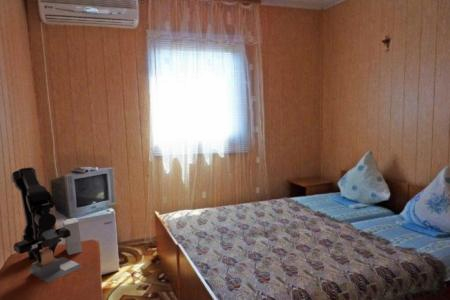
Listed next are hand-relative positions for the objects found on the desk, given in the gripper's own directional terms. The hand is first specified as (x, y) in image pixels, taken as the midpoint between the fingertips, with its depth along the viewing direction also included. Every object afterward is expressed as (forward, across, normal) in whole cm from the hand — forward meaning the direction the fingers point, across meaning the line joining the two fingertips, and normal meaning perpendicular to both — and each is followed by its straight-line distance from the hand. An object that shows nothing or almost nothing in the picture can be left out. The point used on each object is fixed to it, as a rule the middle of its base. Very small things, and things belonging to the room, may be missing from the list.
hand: (45, 260), depth 121 cm
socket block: (+6, +3, -1) cm, 6 cm away
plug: (+4, 0, 0) cm, 4 cm away
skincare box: (+6, +16, +9) cm, 19 cm away
